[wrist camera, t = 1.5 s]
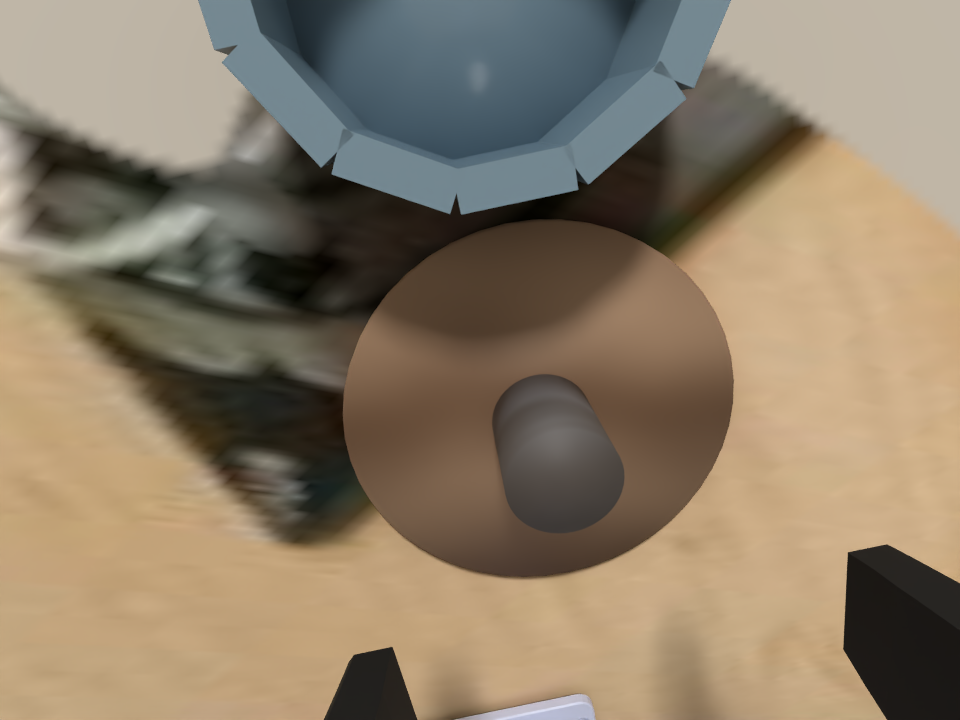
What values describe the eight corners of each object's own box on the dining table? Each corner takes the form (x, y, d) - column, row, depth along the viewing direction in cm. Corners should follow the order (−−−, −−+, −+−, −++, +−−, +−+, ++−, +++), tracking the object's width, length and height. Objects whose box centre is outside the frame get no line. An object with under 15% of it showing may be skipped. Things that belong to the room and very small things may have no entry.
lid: (728, 520, 19) (797, 613, 16) (399, 589, 20) (391, 698, 16) (711, 176, 15) (799, 192, 12) (296, 265, 15) (252, 308, 12)
